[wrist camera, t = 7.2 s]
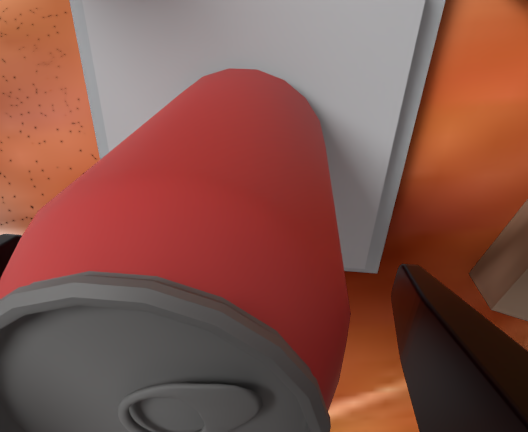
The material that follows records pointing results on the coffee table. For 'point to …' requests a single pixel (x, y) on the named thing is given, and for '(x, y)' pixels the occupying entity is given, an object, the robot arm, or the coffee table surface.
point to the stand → (284, 67)
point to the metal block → (506, 269)
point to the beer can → (184, 277)
